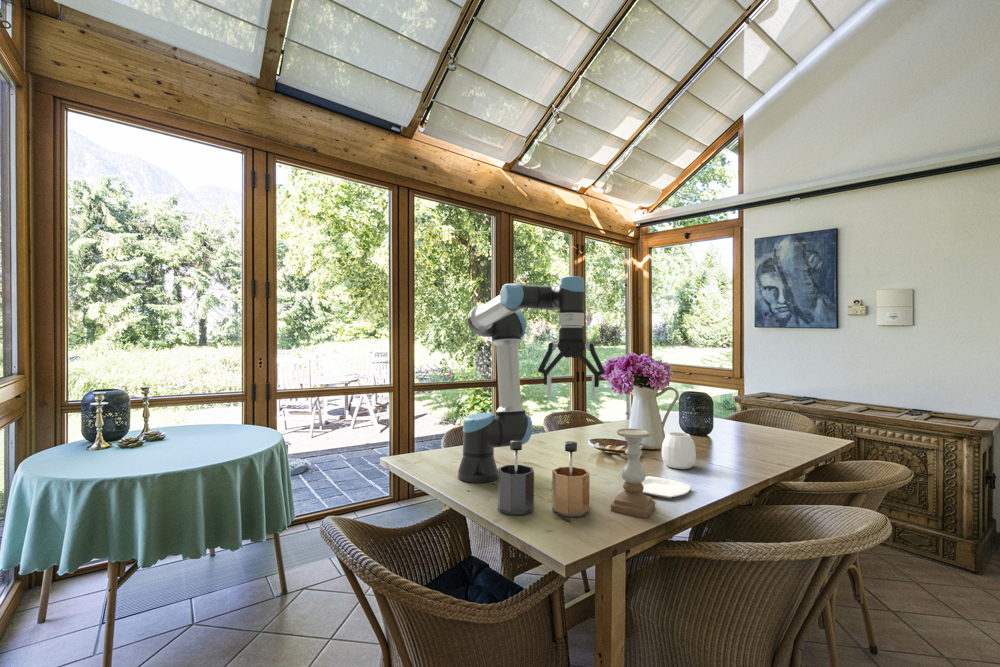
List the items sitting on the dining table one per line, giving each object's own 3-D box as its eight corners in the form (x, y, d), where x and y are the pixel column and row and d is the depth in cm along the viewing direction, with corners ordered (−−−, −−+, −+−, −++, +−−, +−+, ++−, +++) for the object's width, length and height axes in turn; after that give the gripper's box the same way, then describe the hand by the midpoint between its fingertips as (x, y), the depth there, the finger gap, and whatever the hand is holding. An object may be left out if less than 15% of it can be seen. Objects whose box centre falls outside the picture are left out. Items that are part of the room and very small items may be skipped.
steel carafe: (490, 509, 141) (490, 470, 141) (516, 497, 152) (517, 461, 152) (519, 518, 134) (520, 477, 134) (545, 505, 145) (545, 467, 145)
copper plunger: (552, 504, 140) (552, 442, 140) (565, 497, 146) (566, 438, 146) (575, 511, 135) (576, 447, 135) (588, 503, 141) (589, 442, 141)
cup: (666, 460, 199) (666, 429, 199) (699, 466, 191) (699, 433, 191) (657, 467, 188) (657, 434, 188) (691, 473, 181) (691, 439, 181)
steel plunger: (497, 502, 141) (498, 441, 141) (513, 495, 148) (513, 437, 148) (518, 508, 136) (519, 445, 136) (533, 501, 143) (534, 440, 143)
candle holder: (646, 518, 135) (647, 436, 135) (610, 511, 141) (610, 432, 141) (655, 507, 144) (656, 430, 145) (621, 500, 150) (621, 426, 150)
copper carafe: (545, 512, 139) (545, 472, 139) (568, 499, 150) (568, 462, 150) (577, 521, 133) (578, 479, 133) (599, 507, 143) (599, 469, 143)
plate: (646, 479, 174) (646, 473, 174) (698, 491, 161) (698, 485, 161) (619, 490, 161) (619, 485, 161) (673, 505, 147) (673, 499, 147)
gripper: (528, 326, 142) (528, 396, 142) (612, 327, 134) (611, 400, 134) (534, 327, 149) (534, 393, 149) (614, 327, 141) (613, 397, 141)
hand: (570, 396), depth 141 cm, fingers open, 13 cm apart
